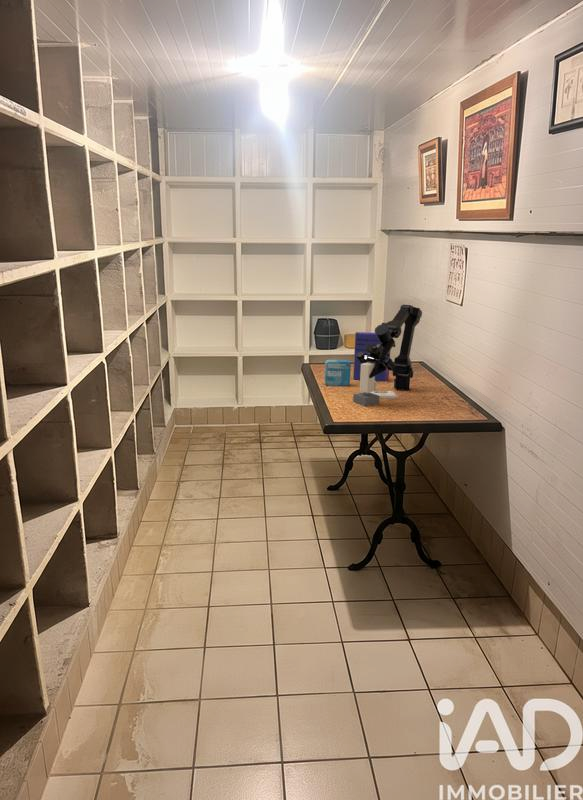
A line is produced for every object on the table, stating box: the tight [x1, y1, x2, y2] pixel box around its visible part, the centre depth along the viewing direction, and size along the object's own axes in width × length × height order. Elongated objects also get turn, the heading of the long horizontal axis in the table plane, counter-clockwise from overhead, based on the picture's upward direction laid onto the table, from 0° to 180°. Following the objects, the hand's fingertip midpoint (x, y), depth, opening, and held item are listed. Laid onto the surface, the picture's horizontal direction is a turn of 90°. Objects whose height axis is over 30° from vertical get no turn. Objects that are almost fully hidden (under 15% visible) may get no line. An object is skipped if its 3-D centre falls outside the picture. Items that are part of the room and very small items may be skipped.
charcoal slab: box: [352, 392, 380, 407], centre depth 263 cm, size 8×8×4 cm
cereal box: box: [352, 331, 391, 382], centre depth 304 cm, size 17×5×24 cm, turn 88°
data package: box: [324, 359, 352, 387], centre depth 294 cm, size 12×4×12 cm, turn 93°
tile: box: [370, 390, 398, 399], centre depth 276 cm, size 12×9×1 cm
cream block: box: [359, 363, 375, 393], centre depth 261 cm, size 4×4×12 cm
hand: (365, 376), depth 260 cm, fingers open, 4 cm apart
